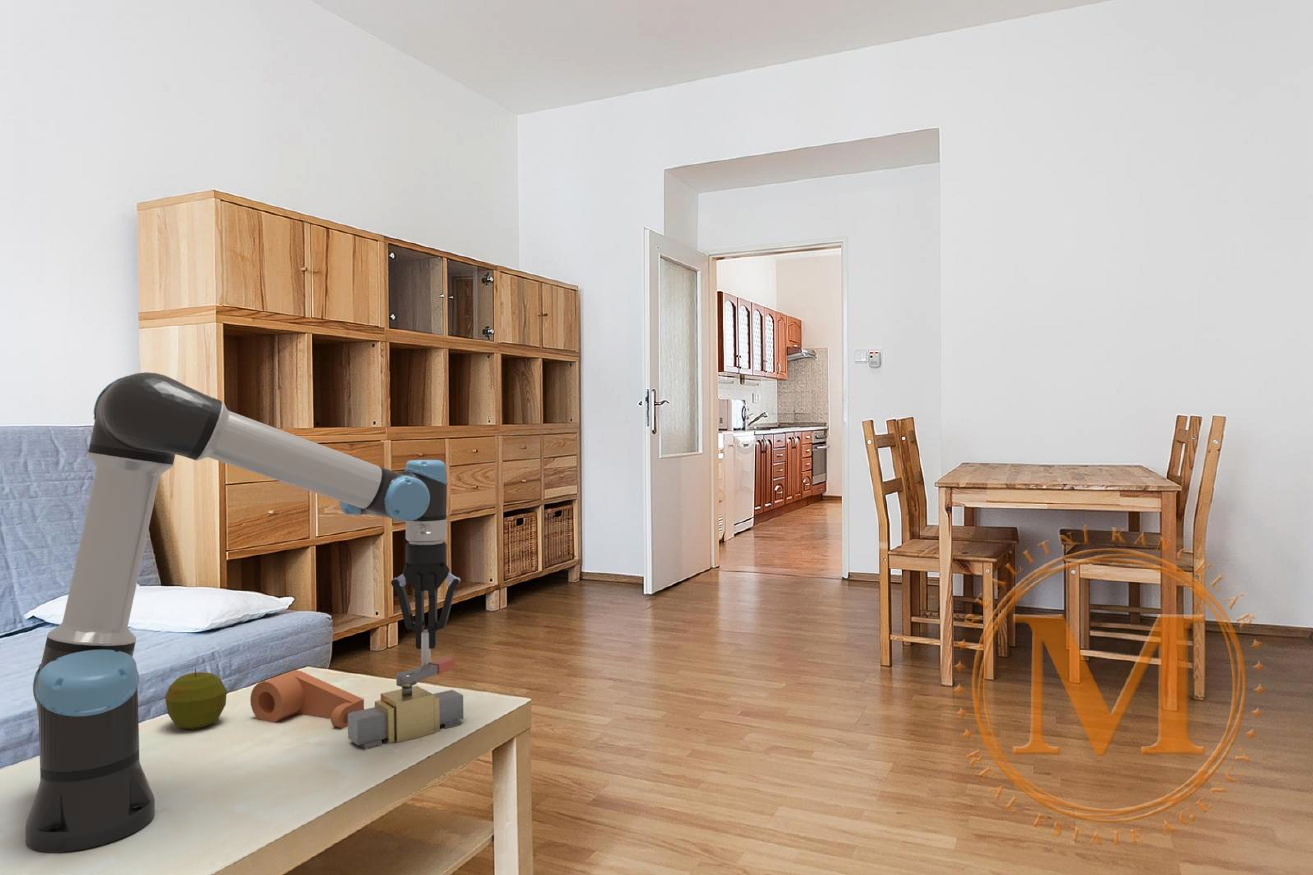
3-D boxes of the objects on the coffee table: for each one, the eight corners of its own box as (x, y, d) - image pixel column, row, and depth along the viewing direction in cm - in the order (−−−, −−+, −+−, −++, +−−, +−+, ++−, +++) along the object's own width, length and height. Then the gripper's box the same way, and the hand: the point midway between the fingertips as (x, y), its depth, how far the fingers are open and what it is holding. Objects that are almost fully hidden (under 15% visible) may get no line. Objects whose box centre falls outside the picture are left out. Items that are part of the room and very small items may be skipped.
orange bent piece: (250, 721, 166) (250, 679, 166) (282, 708, 173) (282, 668, 173) (334, 734, 158) (333, 690, 158) (364, 720, 166) (363, 678, 166)
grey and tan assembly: (360, 751, 149) (359, 702, 149) (345, 740, 154) (344, 692, 154) (466, 724, 162) (466, 679, 161) (449, 715, 167) (448, 671, 167)
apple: (238, 719, 166) (236, 662, 166) (200, 737, 157) (199, 676, 156) (193, 716, 168) (192, 659, 168) (153, 733, 159) (152, 673, 159)
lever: (407, 688, 155) (407, 677, 155) (392, 685, 157) (391, 674, 157) (457, 668, 167) (456, 658, 167) (442, 666, 169) (442, 656, 169)
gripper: (387, 544, 161) (387, 671, 161) (457, 544, 162) (457, 670, 162) (396, 538, 168) (396, 660, 169) (463, 538, 169) (463, 659, 170)
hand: (426, 665), depth 166 cm, fingers closed
